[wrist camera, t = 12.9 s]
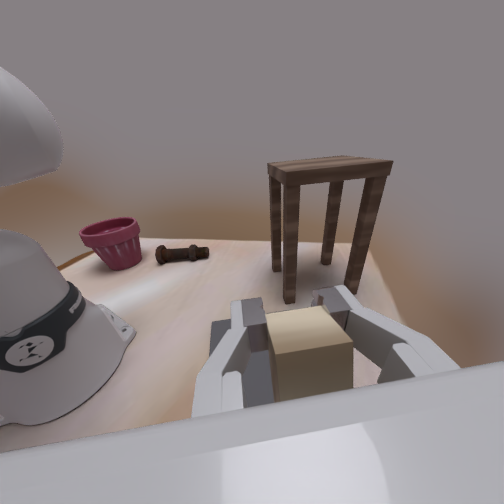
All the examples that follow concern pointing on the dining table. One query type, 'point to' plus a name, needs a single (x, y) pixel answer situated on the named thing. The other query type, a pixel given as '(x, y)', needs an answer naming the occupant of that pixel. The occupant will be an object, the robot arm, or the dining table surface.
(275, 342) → the hammer
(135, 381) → the dining table surface
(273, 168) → the stool
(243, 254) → the dining table surface
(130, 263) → the plant pot
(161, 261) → the bolt
